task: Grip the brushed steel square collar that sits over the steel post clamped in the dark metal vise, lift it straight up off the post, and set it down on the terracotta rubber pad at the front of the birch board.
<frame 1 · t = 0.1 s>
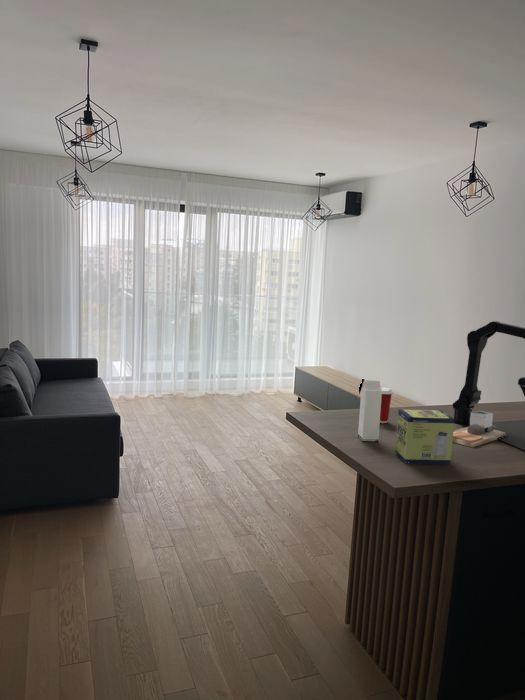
steel collar: (480, 425, 208), point 4 cm above the table, touching bench vise
protein box: (421, 459, 177), on the table
bench vise: (479, 435, 208), resting on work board
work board: (473, 437, 205), on the table
milk: (367, 440, 196), on the table
paper cup: (380, 422, 222), on the table
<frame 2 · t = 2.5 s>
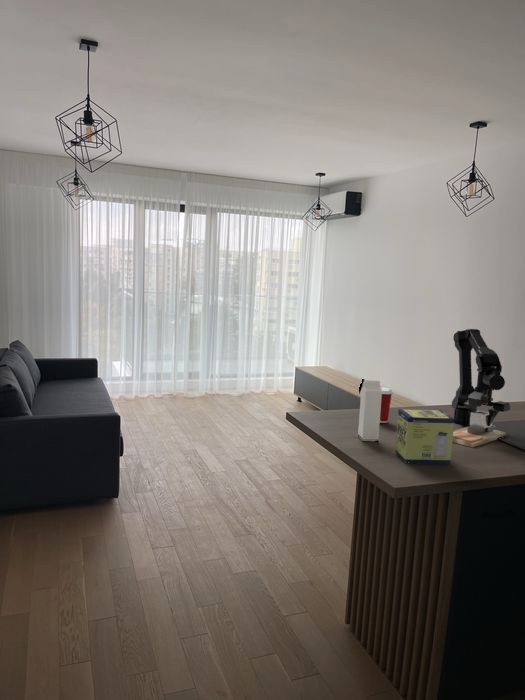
hand: (480, 424, 208), 5 cm above the table, tool pointing down, fingers closed on steel collar, 6 cm apart
steel collar: (480, 425, 208), point 4 cm above the table, touching bench vise, gripper
everything else where it was.
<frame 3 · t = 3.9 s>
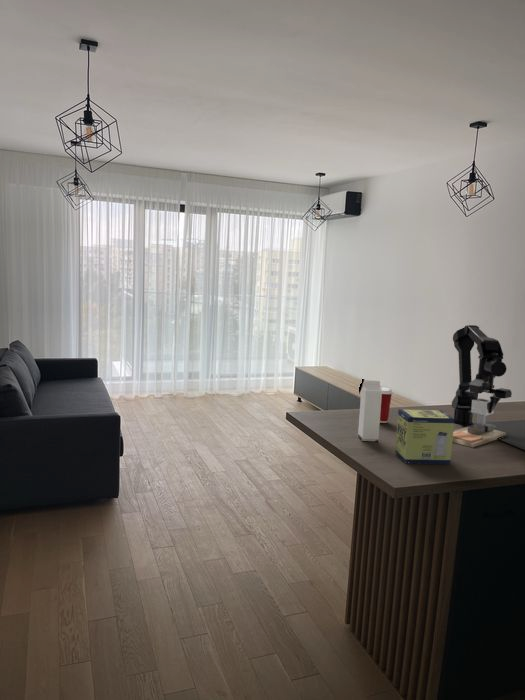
hand: (482, 411, 207), 10 cm above the table, tool pointing down, fingers closed on steel collar, 6 cm apart
steel collar: (482, 412, 207), point 9 cm above the table, touching gripper
everything else where it was.
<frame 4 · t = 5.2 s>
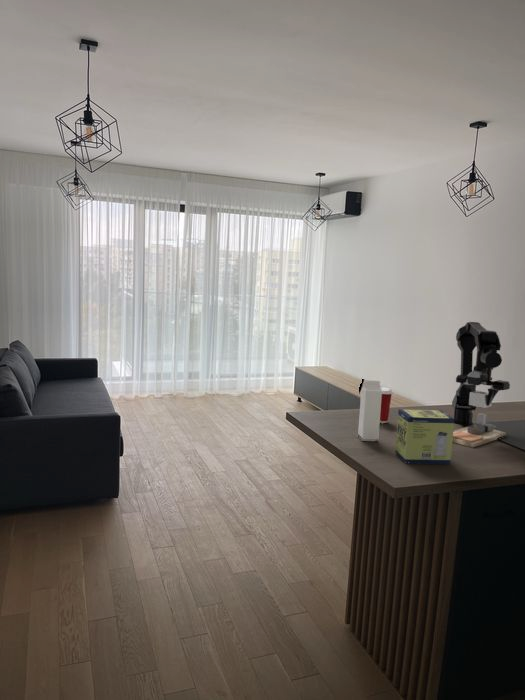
hand: (480, 404, 204), 13 cm above the table, tool pointing down, fingers closed on steel collar, 6 cm apart
steel collar: (480, 405, 204), point 12 cm above the table, touching gripper
everything else where it was.
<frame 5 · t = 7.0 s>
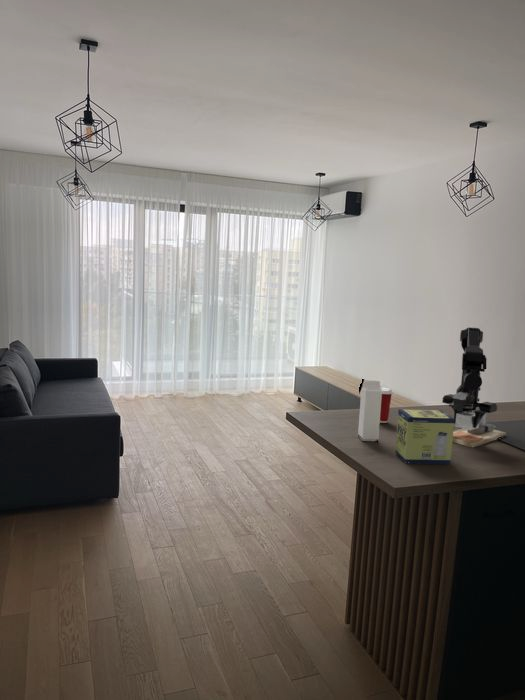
hand: (466, 425, 198), 6 cm above the table, tool pointing down, fingers closed on steel collar, 6 cm apart
steel collar: (466, 427, 198), point 5 cm above the table, touching gripper
everything else where it was.
when the fingers open (4 cm above the table, at t = 8.3 s): steel collar drops 1 cm, resting on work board.
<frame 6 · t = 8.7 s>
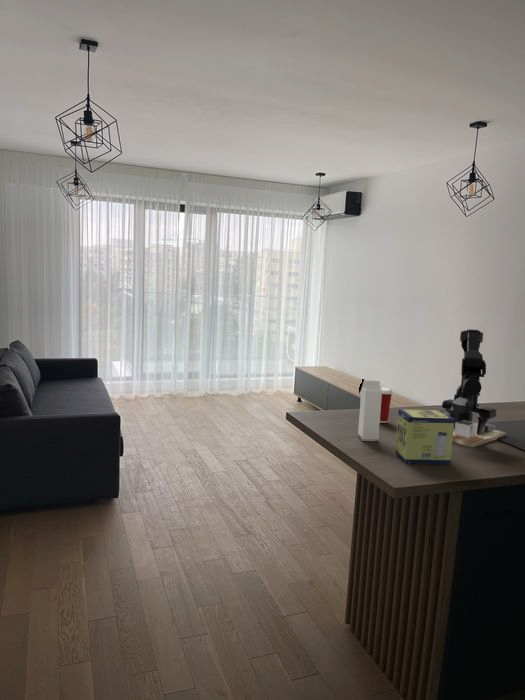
hand: (466, 431, 199), 4 cm above the table, tool pointing down, fingers open, 9 cm apart
steel collar: (465, 435, 199), point 2 cm above the table, touching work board
everything else where it was.
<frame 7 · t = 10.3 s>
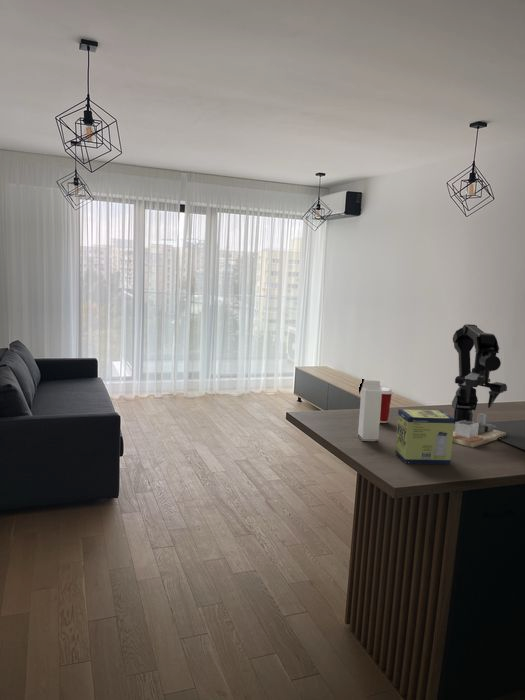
hand: (477, 405, 209), 12 cm above the table, tool pointing down, fingers open, 9 cm apart
nothing on the table moved.
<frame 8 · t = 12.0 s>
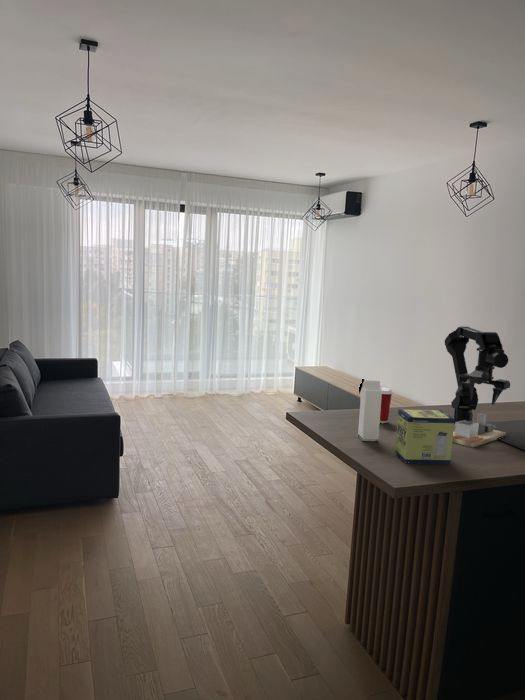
hand: (481, 402, 212), 12 cm above the table, tool pointing down, fingers open, 9 cm apart
nothing on the table moved.
at the end: steel collar 0.0 cm from the target spot, point 2.1 cm above the table; steel collar tilted 0°; the gripper is holding nothing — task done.
